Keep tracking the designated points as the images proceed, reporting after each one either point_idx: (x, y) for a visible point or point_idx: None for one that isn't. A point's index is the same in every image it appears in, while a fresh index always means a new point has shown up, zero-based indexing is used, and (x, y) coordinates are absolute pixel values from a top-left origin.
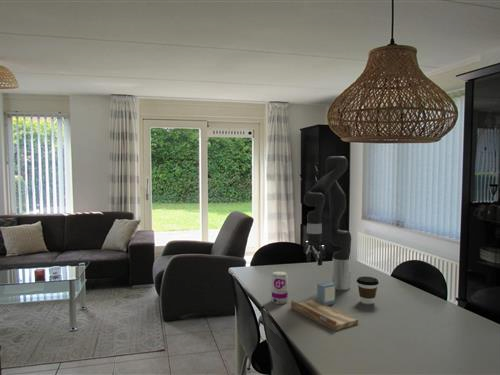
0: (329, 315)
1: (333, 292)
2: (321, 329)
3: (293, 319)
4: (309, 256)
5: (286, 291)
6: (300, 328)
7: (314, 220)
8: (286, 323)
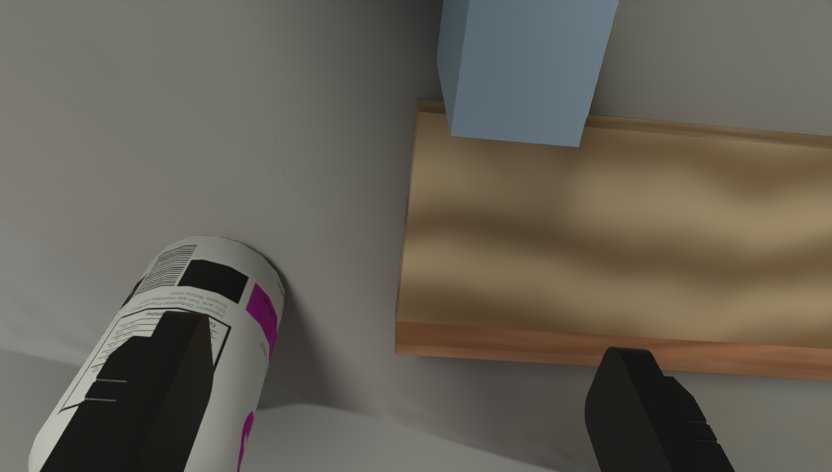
0: (748, 269)
1: None
2: None
3: (539, 398)
4: (162, 466)
5: (259, 338)
6: None
7: None
8: (549, 449)
